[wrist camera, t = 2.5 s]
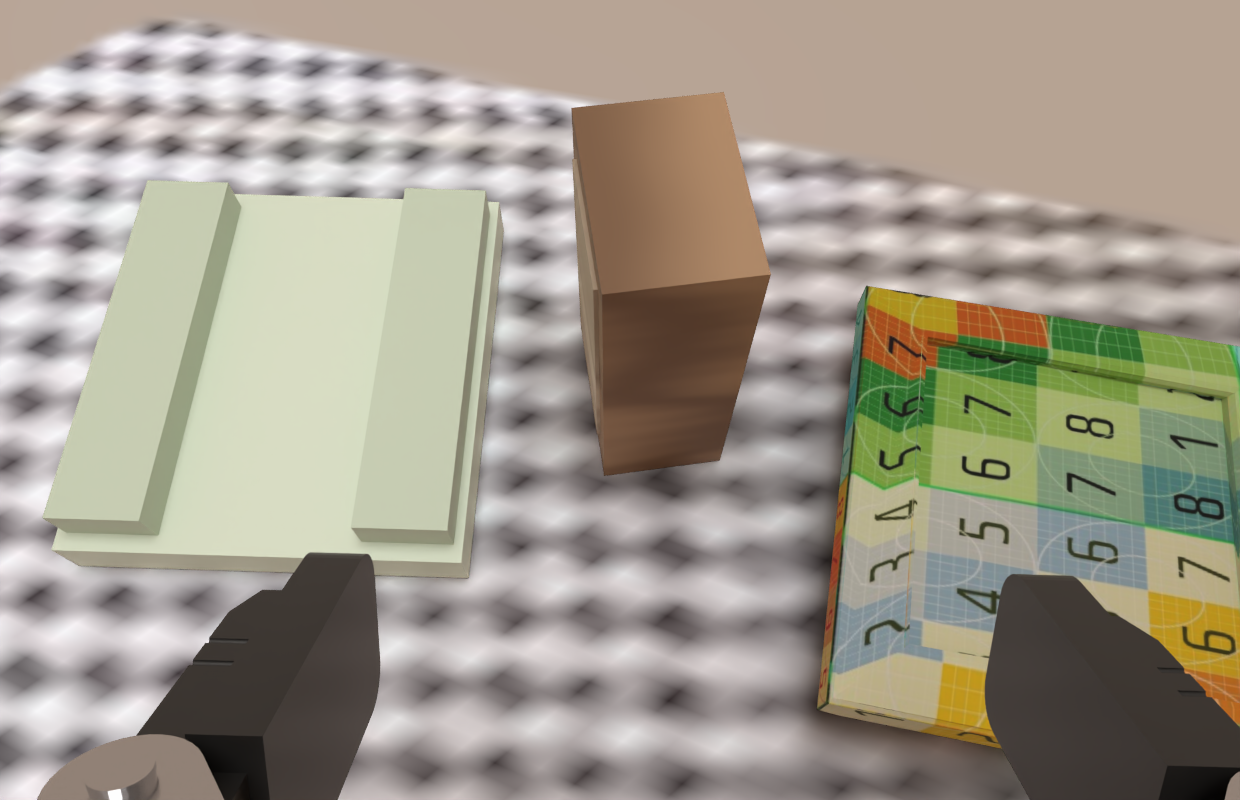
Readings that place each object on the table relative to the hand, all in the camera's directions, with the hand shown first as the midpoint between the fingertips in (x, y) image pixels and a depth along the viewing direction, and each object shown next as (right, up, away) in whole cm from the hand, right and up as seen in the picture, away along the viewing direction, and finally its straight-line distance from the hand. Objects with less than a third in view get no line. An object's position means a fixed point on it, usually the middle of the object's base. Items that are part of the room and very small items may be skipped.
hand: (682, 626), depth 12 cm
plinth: (-10, +3, +17) cm, 21 cm away
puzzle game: (+15, -3, +15) cm, 21 cm away
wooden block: (0, +3, +17) cm, 18 cm away
